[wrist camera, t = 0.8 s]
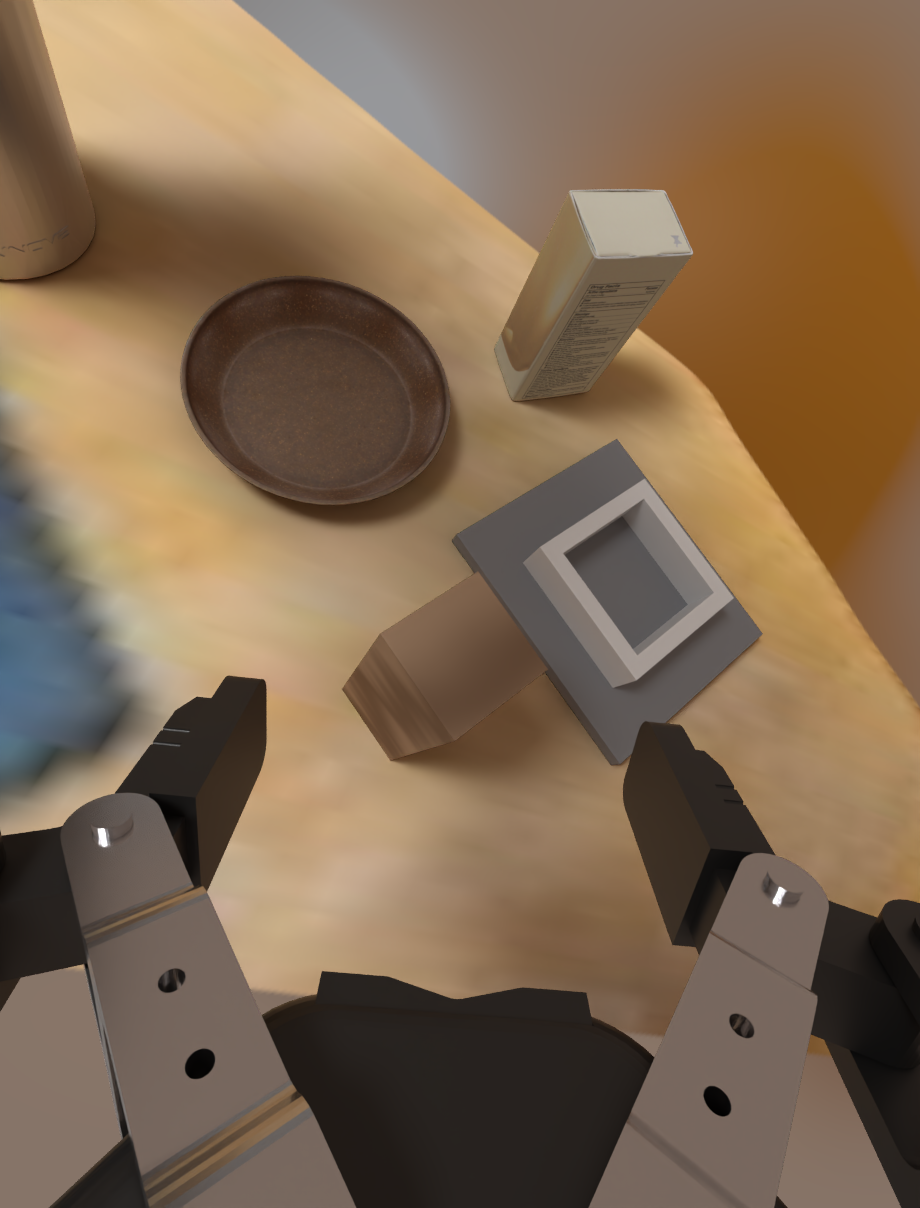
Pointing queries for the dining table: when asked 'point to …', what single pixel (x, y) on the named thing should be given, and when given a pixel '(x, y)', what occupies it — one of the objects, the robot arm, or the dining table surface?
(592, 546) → the collar holder
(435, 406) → the saucer
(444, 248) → the dining table surface
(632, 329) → the skincare box
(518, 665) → the walnut square peg
